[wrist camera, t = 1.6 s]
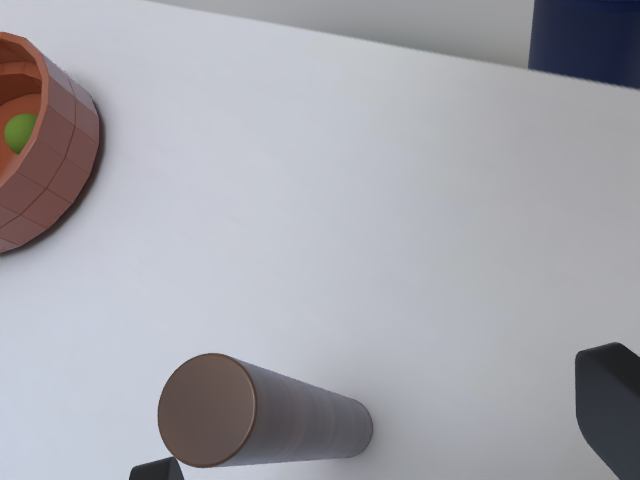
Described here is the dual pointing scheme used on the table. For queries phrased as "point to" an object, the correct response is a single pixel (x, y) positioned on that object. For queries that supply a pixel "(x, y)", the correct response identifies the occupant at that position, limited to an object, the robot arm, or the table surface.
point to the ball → (19, 131)
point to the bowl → (41, 141)
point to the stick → (254, 416)
